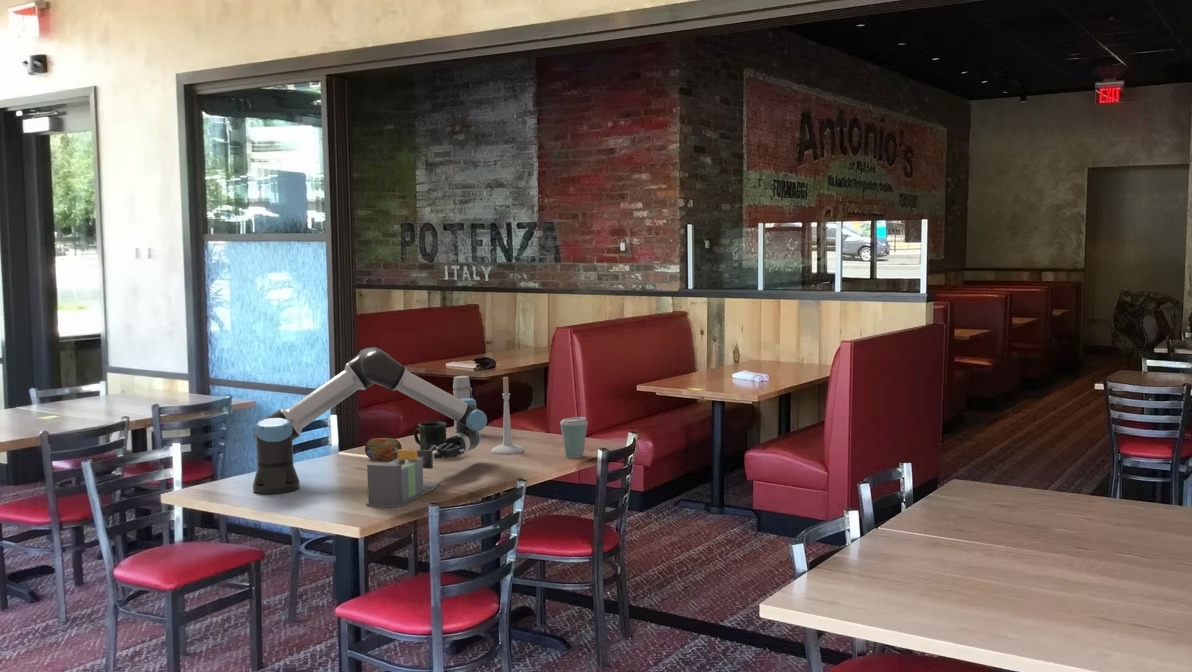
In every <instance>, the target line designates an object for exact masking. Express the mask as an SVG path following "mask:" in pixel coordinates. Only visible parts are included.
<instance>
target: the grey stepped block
mask: <svg viewBox="0 0 1192 672" xmlns="http://www.w3.org/2000/svg"><path fill="white" fill-rule="evenodd" d="M405 462H406V460H402V459H398V458H397V459H395V460H392V461H388V462H386V463H385V462H384V463H383V462H371V463H368V464H366V470H367V471H366V472H367V496H368V497H367V499H368V502H366V507H376V506H378V508H379V507H381V508H395V509H396V508H397V509H399V508H400V507H402V506H404V505H406V504H408V503H410V502H412V501H414V500H415V499H414V498H416V497H418V496H419V497H421V496H423V495H424V494H423V493H425V492H427V491H428V490H430V489H432V488H434V487H436V486H438V485H440V484H442V485H443V483H442V481H425V480H424V470H423V469H424V468H423V462H422V460H413V461H410V462H408V463H406V464H404V465H401V464H403V463H405ZM440 486H441V485H440ZM438 487H439V486H438ZM436 488H437V487H436ZM427 493H428V492H427ZM422 494H423V495H422ZM425 494H426V493H425ZM420 495H421V496H420ZM419 497H418V498H419ZM413 499H414V500H413ZM416 499H417V498H416ZM411 500H412V501H411ZM409 501H410V502H409ZM407 502H408V503H407Z"/></svg>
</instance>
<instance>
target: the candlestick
mask: <svg viewBox="0 0 1192 672" xmlns="http://www.w3.org/2000/svg"><path fill="white" fill-rule="evenodd" d="M502 381H503V382H502V383H503V384H502V385H503V393H501V395H502V399H503V423H502V425H503V426H502V428H503V429H502V430H503V431H502V444H499V445H495V446H494V447H493V448H491V450H490V452H491V453H492V454H495V455H515V454H517V455H518V454H521V453H524V450H525V449H524V448H523V447H522V446H520V445H518V444H515V443H513V438H512V428H511V427H512V426H511V425H512V424H511V415H510V414H511V412H510V402H509V400H510V395H511V393H509V377H508V376H504V377H502Z"/></svg>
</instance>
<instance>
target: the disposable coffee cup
mask: <svg viewBox="0 0 1192 672" xmlns="http://www.w3.org/2000/svg"><path fill="white" fill-rule="evenodd" d="M559 422H560V423H559V425H560V429H561V435H562V442H563V447H564V454H565V456H566V458H570V459H579V458H583V457H584V453H585V445H586V444H585V443H586V436H587V428H588V420H587V417H585V416H574V417H569V418H563V419H562V420H561V421H559Z"/></svg>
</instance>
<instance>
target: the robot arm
mask: <svg viewBox="0 0 1192 672" xmlns="http://www.w3.org/2000/svg"><path fill="white" fill-rule="evenodd" d="M407 369H408V368H407V367H406V366H405V365H403V364H402V363H399V362H398V361H397V360H396V359H394V358H393V357H391V355H390V354H389V353H387V352H385V351H384V350H382V349H380V348H379V347H378V348H377V347H365V348H364V349H361V350H360V351H359V352H357V354H356V356H355V357H354V358H352V359H350V360H349V361H348V362H347V363H345V367H344V370H342V371H341V372H339V373H338V374H337V375H335V376H333V377H332V378H331V379H329V380H328V381H327V382H325V383H323V384H322V385H321V386H319V387H317V388H316V389H315V390H313V391H312V392H311V393H309V394H307V395H306V396H304V397H303V398H301V399H300V400H298V401H297V402H296V403H294V404H293V405H292V406H290V407H289V408H279V409H277V411H275V412H274V413H272V414H271V415H268V416H265V417H262V418H261V419H260V420H259V421H257V423H256V425H255V427H254V429H253V439H254V442H255V446H256V461H257V469H256V472H255V476H254V479H253V482H252V490H253V491H255V492H258V493H257V494H259V493H262V495H275V494H276V495H277V493H278V494H285V493H290V492H293V491H297V490H299V489H300V487H301V485H300V484H301V483H300V479H299V476H298V474H297V471H296V469H295V465H294V451H293V450H294V449H293V441H295V440H296V439H297V438H298V437H300V436H301V433H302V430H303V429H304V428H305V427H307V426H308V425H309V424H311V423H312V422H314V421H315V420H317V419H318V418H320V417H321V416H322V415H324V414H326V413H327V412H328V411H330V410H331V409H333V408H334V407H335V406H337V405H338V404H340V403H341V402H342V401H344V400H346V399H347V398H348V397H350V396H351V395H352V394H354V393H355V392H357V391H358V390H363V391H365V390H367V389H369V388H370V387H372V385H374V384H376V385H379V386H381V387H384V388H386V389H388V390H390V391H392V392H393V391H398V392H400V393H402V394H404V395H406V396H408V397H409V398H411V399H414V400H415V401H417V402H419V403H420V404H422V405H425V407H429V408H430V409H433V410H434V411H436V412H438V413H440V414H442V415H443V416H445V417H448V418H449V419H451V420H453V421H454V420H455V421H456V426H457V427H456V428H457V434H455V433H454V434H453V435H451V436H449V437H446V440H445V441H444V443H443V444H442V445H439V447H437V446H436V445H431V448H430V449H429V450H432V455H433V462H434V461H436V460H438V459H442V458H445V459H448V458H457V457H458V456H459V457H460V456H462V455H463V454H465V453H467V452H469V451H472V450H474V449H475V448H476V447H478V445H480V443H481V441H482V436H481V434H480V432H479V431H483V430H484V429H485V427H486V426H487V423H488V418H487V415H486V413H485V412H484V411H483V410H480V409H478V408H477V406H478V405H477V402H476V401H477V400H476V399H474V398H473V399H472V397H470V398H462V399H458V398H456V397H454V395H452V394H451V393H449V392H447V391H445V390H443V389H442V388H440V387H438V386H436V385H434V384H432V383H431V382H428V381H426V380H425V379H422V378H421V377H420V376H418V375H416V374H413V373H412V372H410V371H408V370H407ZM255 492H254V493H255Z"/></svg>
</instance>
